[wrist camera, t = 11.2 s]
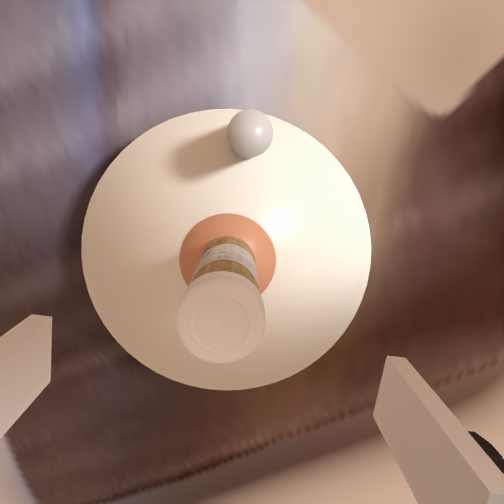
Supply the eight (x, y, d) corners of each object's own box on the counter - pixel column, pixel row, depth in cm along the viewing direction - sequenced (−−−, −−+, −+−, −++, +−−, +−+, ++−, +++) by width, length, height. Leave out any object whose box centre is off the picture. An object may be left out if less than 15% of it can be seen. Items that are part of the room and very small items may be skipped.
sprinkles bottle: (227, 298, 33) (218, 384, 20) (189, 259, 32) (153, 323, 19) (267, 262, 32) (285, 326, 19) (230, 222, 32) (221, 261, 18)
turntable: (391, 141, 33) (434, 135, 26) (330, 392, 38) (351, 445, 31) (105, 87, 31) (65, 64, 24) (81, 356, 36) (42, 404, 29)
